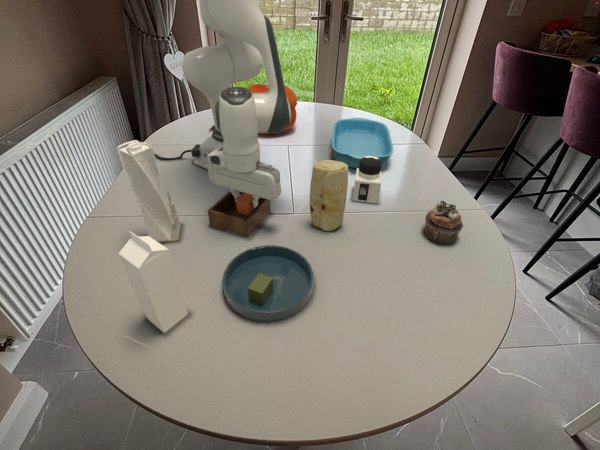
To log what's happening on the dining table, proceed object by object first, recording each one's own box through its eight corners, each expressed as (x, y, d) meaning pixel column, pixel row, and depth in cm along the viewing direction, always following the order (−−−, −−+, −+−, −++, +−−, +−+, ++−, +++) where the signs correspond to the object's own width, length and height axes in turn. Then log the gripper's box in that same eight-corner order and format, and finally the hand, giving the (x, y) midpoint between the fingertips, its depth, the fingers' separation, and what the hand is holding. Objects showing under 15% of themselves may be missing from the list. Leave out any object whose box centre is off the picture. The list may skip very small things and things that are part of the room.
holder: (210, 226, 93) (207, 210, 90) (234, 203, 102) (232, 187, 99) (248, 239, 89) (247, 222, 86) (271, 213, 98) (270, 198, 95)
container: (376, 204, 104) (384, 167, 95) (352, 200, 105) (357, 164, 97) (377, 191, 110) (384, 155, 101) (353, 188, 111) (359, 152, 102)
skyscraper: (177, 244, 87) (149, 145, 70) (145, 247, 86) (108, 147, 68) (181, 224, 94) (156, 129, 76) (151, 227, 92) (118, 131, 75)
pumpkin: (307, 126, 150) (308, 80, 138) (278, 144, 135) (277, 94, 123) (266, 116, 160) (264, 71, 147) (235, 131, 145) (229, 83, 132)
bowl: (206, 302, 73) (203, 292, 70) (253, 246, 87) (252, 236, 85) (289, 337, 66) (289, 327, 64) (325, 270, 81) (326, 260, 79)
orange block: (237, 212, 91) (235, 200, 89) (246, 203, 95) (245, 191, 92) (248, 215, 90) (246, 203, 88) (256, 206, 94) (256, 194, 91)
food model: (341, 218, 97) (348, 156, 85) (344, 233, 92) (353, 169, 80) (308, 218, 97) (310, 156, 85) (309, 233, 92) (312, 169, 79)
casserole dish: (393, 177, 116) (397, 159, 112) (329, 173, 118) (330, 154, 114) (383, 134, 145) (386, 118, 141) (332, 131, 147) (334, 115, 142)
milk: (171, 301, 73) (144, 221, 59) (189, 315, 70) (165, 234, 56) (146, 319, 69) (111, 239, 55) (164, 335, 66) (132, 254, 53)
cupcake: (457, 249, 88) (470, 219, 81) (419, 241, 90) (429, 211, 84) (457, 228, 95) (469, 199, 89) (422, 220, 97) (431, 192, 91)
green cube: (249, 300, 73) (247, 288, 70) (259, 284, 76) (258, 272, 74) (263, 305, 72) (262, 293, 69) (273, 290, 75) (272, 277, 73)
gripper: (285, 161, 82) (285, 207, 90) (216, 145, 88) (222, 189, 97) (273, 173, 77) (274, 220, 86) (201, 154, 83) (209, 200, 92)
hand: (246, 203), depth 91 cm, fingers closed on orange block, 3 cm apart
